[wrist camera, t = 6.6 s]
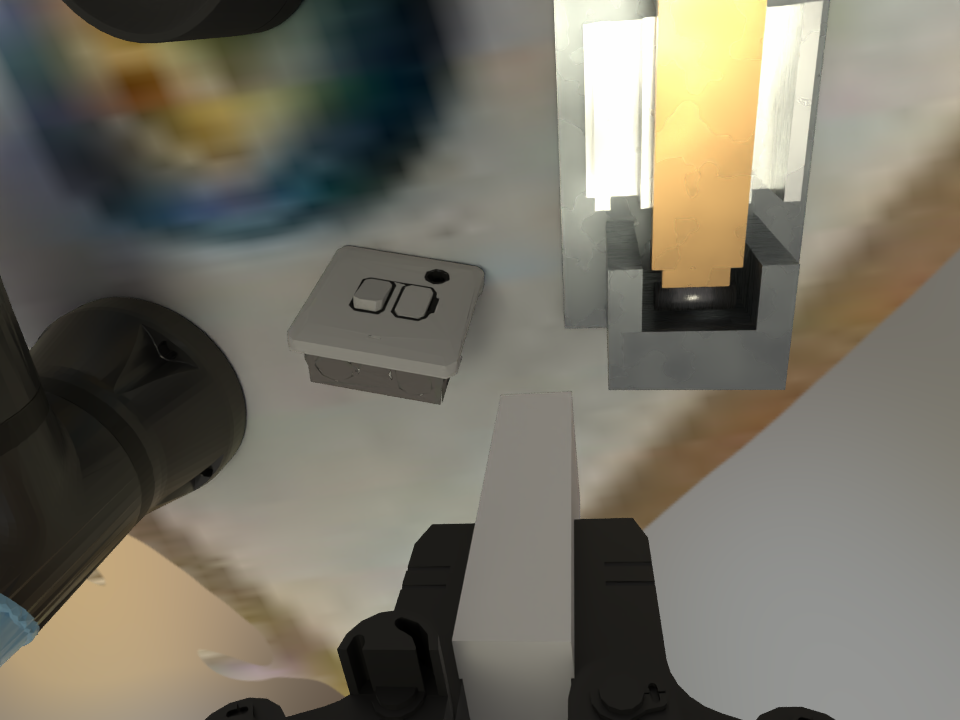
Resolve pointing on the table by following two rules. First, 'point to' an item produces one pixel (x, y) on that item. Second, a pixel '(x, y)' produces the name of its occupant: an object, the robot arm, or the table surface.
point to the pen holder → (182, 17)
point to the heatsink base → (628, 199)
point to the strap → (703, 147)
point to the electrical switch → (387, 323)
